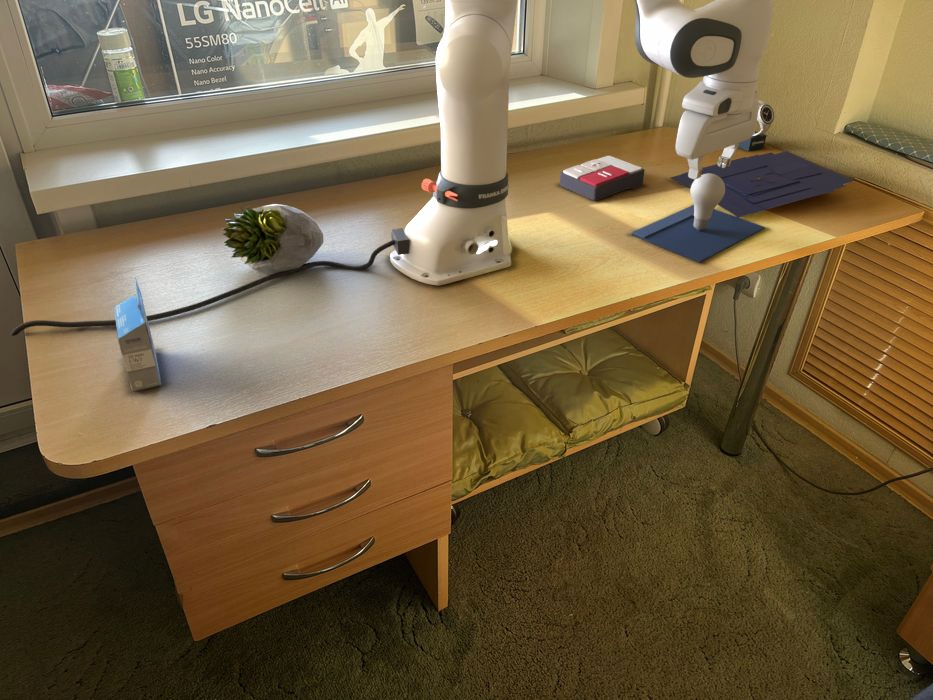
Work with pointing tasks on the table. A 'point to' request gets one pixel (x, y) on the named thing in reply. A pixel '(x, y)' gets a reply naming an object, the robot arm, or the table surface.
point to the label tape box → (136, 343)
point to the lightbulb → (706, 198)
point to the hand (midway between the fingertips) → (708, 172)
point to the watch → (765, 121)
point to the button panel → (602, 177)
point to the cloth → (697, 233)
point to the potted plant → (273, 238)
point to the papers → (769, 181)
